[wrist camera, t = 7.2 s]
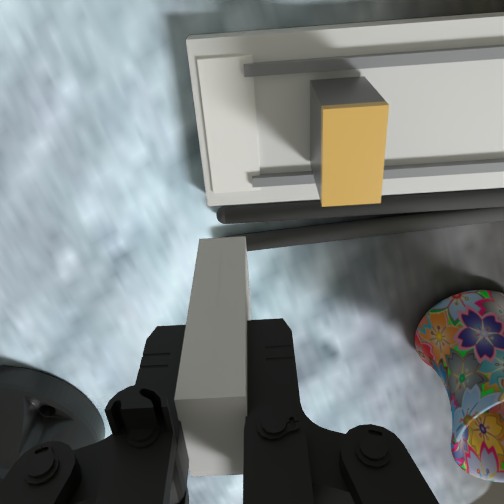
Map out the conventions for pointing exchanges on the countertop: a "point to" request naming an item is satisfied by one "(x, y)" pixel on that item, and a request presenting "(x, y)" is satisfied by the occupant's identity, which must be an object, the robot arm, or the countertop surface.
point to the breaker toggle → (347, 140)
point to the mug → (470, 375)
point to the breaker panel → (342, 66)
